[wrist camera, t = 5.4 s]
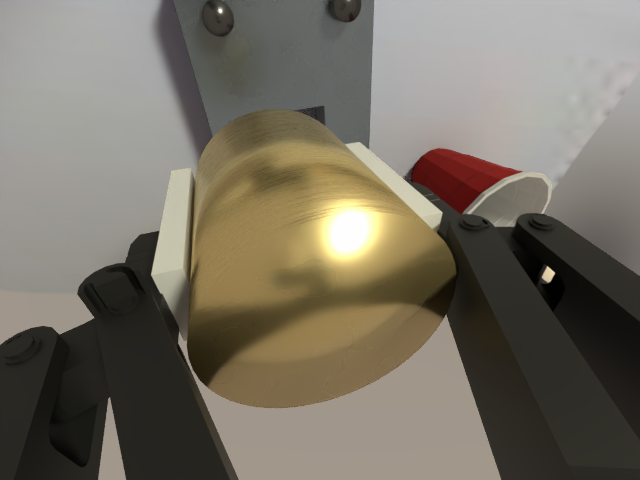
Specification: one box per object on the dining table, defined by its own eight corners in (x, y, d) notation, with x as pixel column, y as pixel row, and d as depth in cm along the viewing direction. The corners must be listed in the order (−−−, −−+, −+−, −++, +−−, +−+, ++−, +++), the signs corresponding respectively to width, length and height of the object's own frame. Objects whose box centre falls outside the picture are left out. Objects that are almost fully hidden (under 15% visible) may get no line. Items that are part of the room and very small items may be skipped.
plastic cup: (418, 223, 43) (475, 284, 34) (376, 177, 37) (433, 237, 28) (484, 166, 40) (566, 216, 31) (451, 106, 34) (543, 147, 25)
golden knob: (176, 104, 13) (132, 256, 5) (330, 87, 15) (488, 184, 6) (215, 234, 17) (226, 433, 9) (332, 211, 19) (431, 366, 11)
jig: (168, -26, 22) (160, -31, 17) (358, -41, 24) (395, -48, 20) (245, 242, 37) (251, 277, 32) (356, 216, 39) (377, 245, 35)
